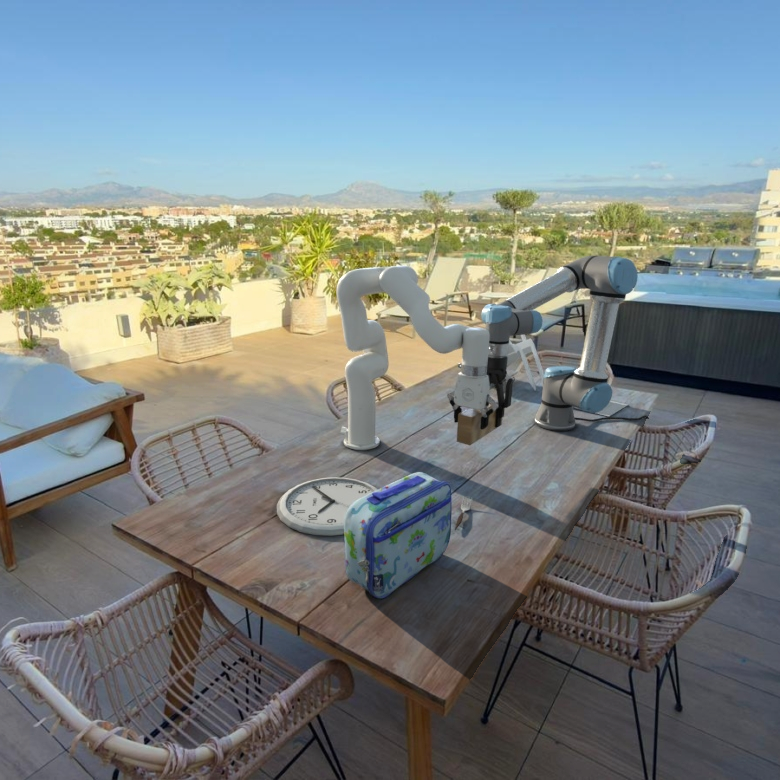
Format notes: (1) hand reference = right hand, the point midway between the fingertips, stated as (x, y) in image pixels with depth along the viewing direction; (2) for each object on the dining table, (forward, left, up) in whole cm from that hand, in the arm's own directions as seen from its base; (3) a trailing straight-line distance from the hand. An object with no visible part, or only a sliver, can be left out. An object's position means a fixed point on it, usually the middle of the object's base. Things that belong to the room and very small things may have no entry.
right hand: (490, 424), depth 172 cm
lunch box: (+23, +65, -12) cm, 70 cm away
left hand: (+7, +12, +4) cm, 15 cm away
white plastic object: (-11, -87, -12) cm, 88 cm away
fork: (+9, +40, -12) cm, 43 cm away
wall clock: (+44, +39, -12) cm, 60 cm away
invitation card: (-52, -60, -12) cm, 80 cm away
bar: (+4, +6, -1) cm, 7 cm away
